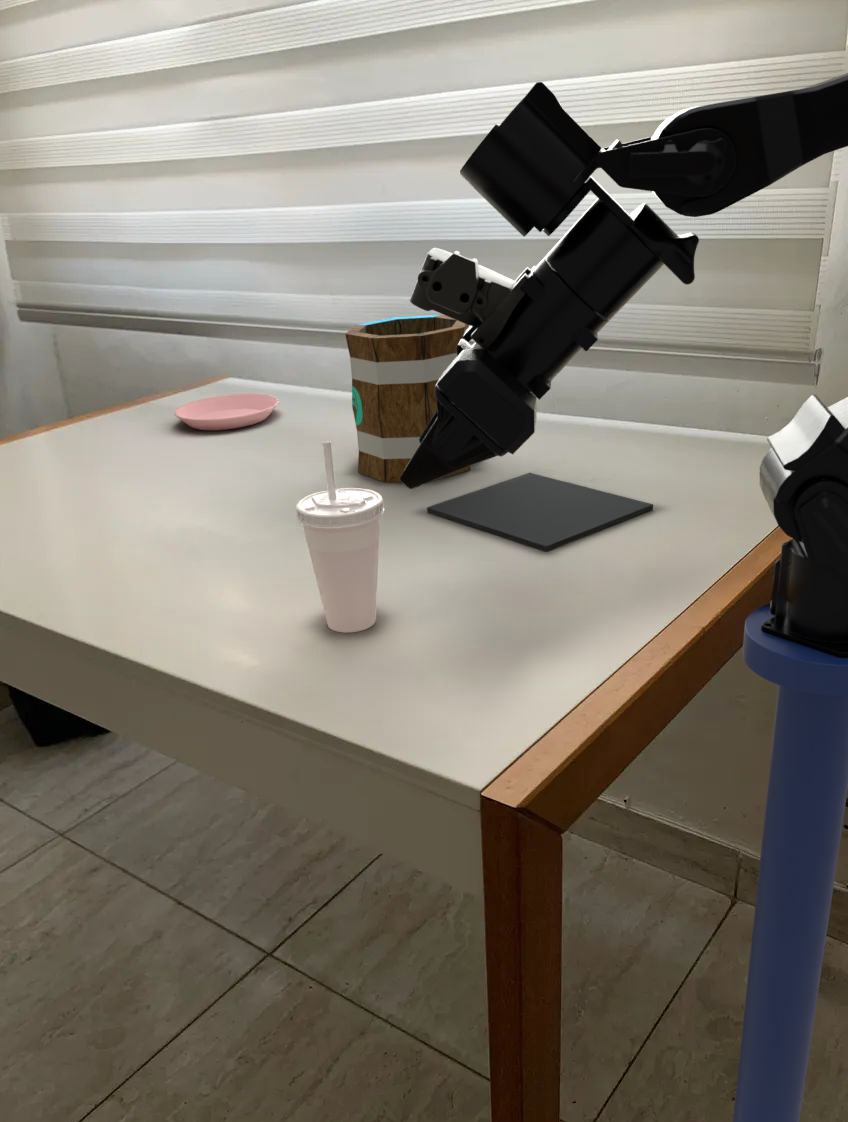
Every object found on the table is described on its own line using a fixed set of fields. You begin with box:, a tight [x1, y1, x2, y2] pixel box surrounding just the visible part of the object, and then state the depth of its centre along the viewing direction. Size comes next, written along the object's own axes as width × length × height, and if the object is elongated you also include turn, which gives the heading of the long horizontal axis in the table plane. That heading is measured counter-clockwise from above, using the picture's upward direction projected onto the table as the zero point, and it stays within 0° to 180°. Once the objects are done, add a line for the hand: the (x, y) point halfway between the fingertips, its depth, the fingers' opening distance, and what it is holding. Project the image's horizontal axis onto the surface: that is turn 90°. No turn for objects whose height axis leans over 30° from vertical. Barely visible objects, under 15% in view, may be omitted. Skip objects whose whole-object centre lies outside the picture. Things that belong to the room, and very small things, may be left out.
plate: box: [174, 393, 280, 431], centre depth 140 cm, size 14×14×2 cm
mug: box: [344, 314, 473, 483], centre depth 113 cm, size 20×14×15 cm
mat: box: [426, 472, 654, 552], centre depth 97 cm, size 16×14×1 cm
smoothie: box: [295, 440, 385, 634], centre depth 75 cm, size 6×6×14 cm
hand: (414, 463), depth 71 cm, fingers open, 9 cm apart
